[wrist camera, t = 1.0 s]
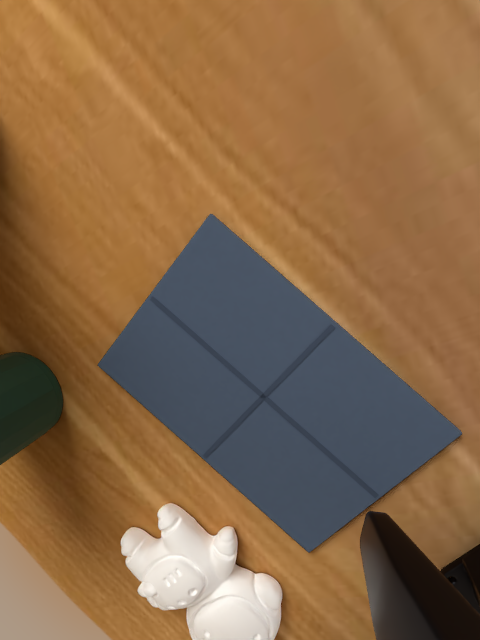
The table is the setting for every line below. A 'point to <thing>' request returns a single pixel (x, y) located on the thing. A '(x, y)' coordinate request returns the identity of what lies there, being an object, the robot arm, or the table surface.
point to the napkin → (272, 389)
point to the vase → (26, 402)
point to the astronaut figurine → (202, 579)
